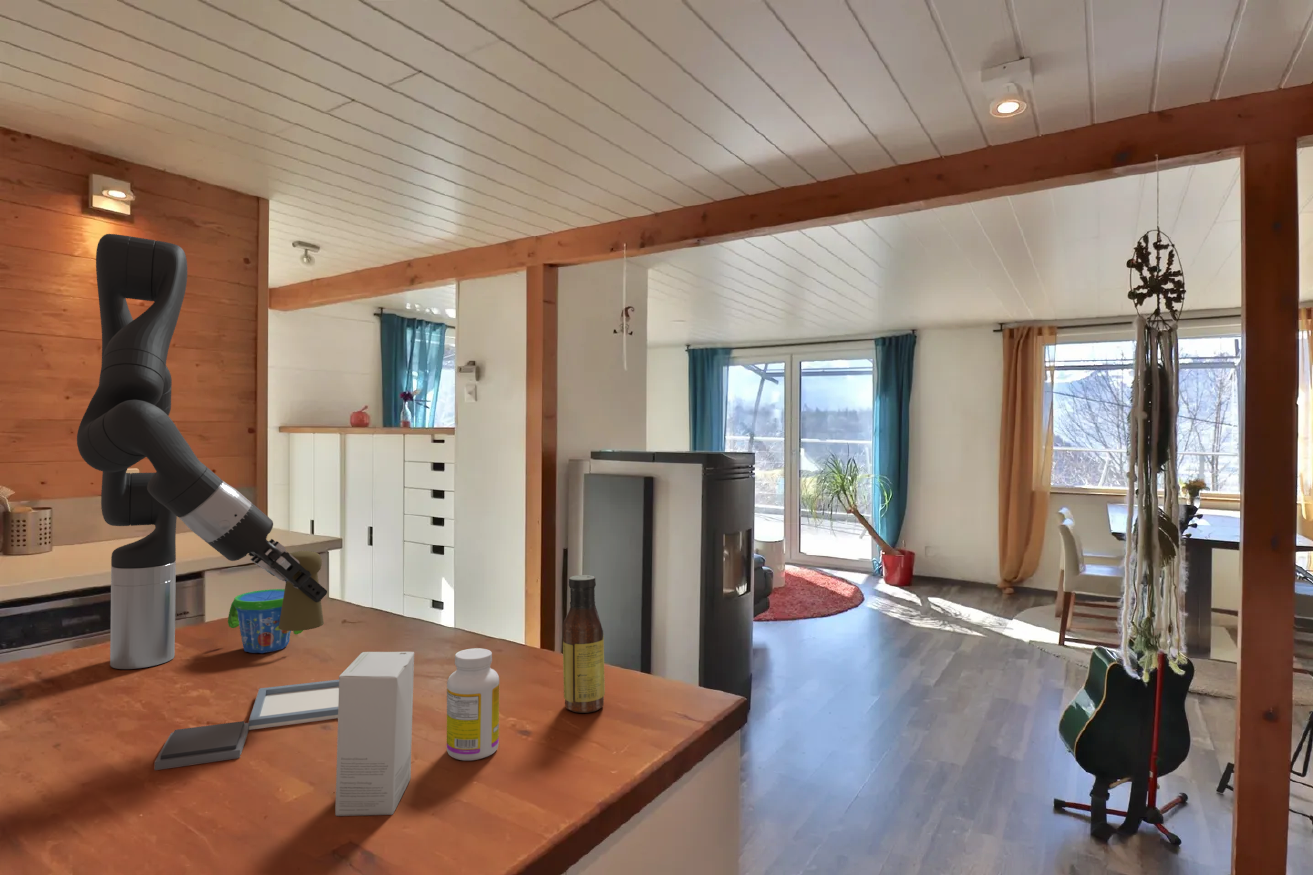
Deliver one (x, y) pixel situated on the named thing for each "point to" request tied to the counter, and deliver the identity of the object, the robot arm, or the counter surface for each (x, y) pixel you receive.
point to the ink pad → (203, 745)
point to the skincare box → (374, 733)
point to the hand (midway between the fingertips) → (316, 593)
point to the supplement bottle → (472, 706)
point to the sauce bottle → (583, 649)
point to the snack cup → (259, 620)
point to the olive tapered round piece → (301, 598)
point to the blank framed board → (295, 704)
